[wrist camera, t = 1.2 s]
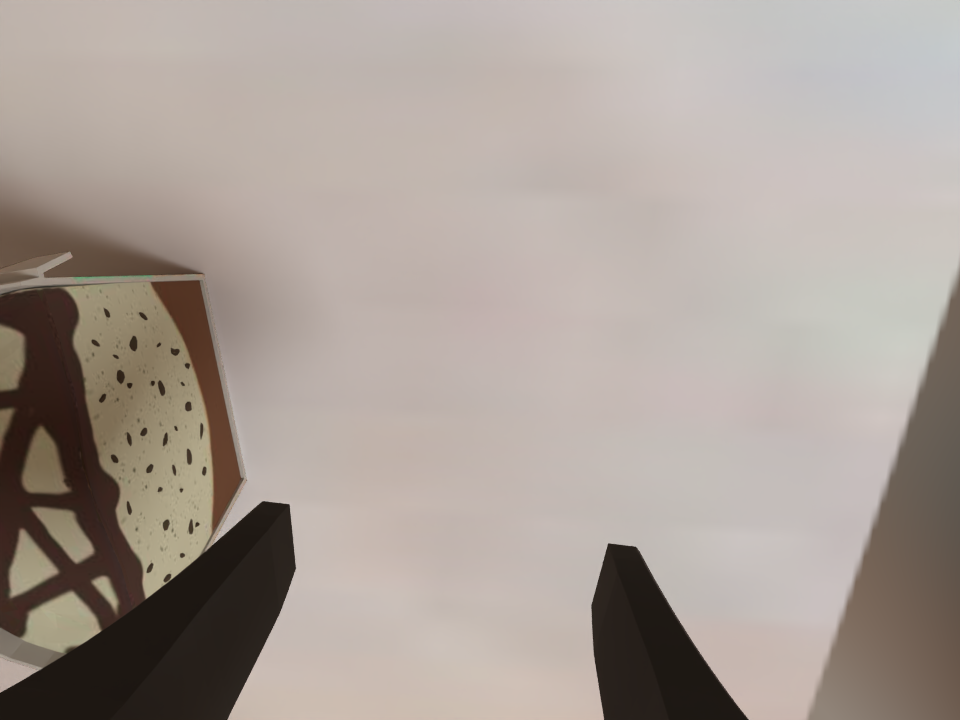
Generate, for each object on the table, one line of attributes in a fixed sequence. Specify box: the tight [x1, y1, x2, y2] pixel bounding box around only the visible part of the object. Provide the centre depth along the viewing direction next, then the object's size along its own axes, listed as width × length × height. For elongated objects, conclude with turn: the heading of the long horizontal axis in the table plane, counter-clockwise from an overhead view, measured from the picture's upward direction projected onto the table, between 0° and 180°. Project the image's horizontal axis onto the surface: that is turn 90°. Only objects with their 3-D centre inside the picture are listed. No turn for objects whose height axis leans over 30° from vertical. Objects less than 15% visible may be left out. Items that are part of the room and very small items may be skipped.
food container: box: [0, 252, 247, 670], centre depth 19 cm, size 12×6×10 cm, turn 4°
